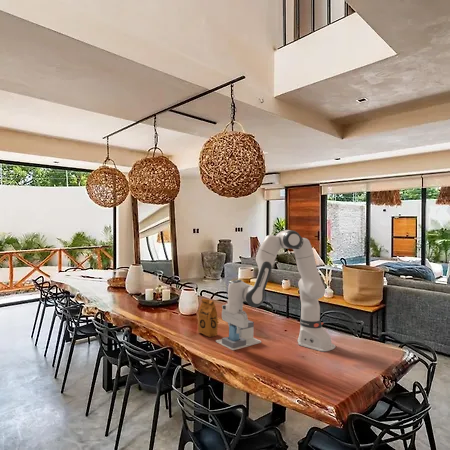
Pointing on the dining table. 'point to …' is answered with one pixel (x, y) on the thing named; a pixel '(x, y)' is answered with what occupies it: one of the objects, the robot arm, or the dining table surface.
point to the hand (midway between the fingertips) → (234, 331)
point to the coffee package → (207, 318)
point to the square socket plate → (241, 338)
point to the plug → (233, 333)
